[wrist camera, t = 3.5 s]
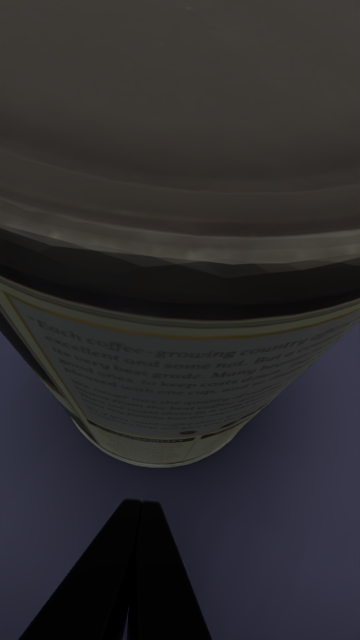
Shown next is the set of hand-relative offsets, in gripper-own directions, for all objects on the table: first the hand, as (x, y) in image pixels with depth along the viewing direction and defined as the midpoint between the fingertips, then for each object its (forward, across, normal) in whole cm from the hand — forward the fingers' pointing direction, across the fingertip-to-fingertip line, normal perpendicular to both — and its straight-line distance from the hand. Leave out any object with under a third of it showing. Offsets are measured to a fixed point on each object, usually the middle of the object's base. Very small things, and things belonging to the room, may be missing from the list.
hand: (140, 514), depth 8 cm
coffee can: (+10, 0, 0) cm, 10 cm away
